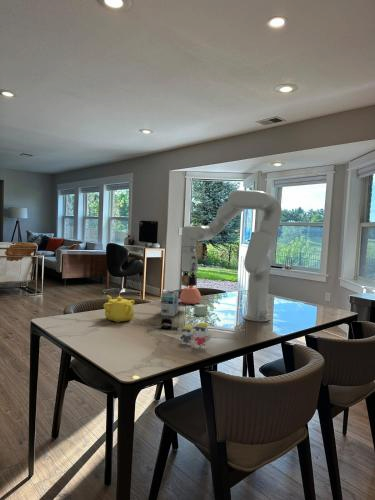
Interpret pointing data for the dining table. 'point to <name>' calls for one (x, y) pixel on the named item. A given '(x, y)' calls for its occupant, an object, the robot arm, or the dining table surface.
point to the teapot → (119, 309)
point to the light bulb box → (169, 303)
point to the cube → (200, 310)
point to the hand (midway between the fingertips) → (188, 283)
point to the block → (187, 280)
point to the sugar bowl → (190, 295)
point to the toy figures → (201, 335)
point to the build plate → (165, 327)
